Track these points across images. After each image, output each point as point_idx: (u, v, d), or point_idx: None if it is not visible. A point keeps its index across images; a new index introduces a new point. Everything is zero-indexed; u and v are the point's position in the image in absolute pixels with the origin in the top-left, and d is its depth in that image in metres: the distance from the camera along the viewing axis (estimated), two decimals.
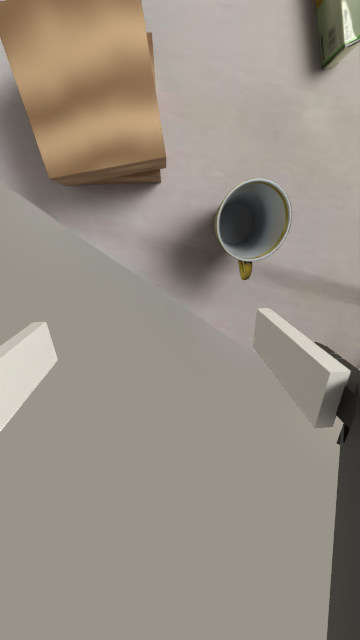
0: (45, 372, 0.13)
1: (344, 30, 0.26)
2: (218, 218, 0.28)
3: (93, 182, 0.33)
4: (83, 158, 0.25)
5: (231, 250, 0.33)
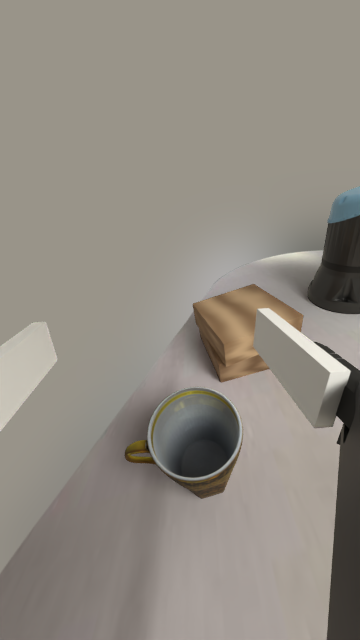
0: (45, 372, 0.13)
1: None
2: (189, 388, 0.27)
3: (204, 342, 0.46)
4: (207, 312, 0.41)
5: (164, 438, 0.26)
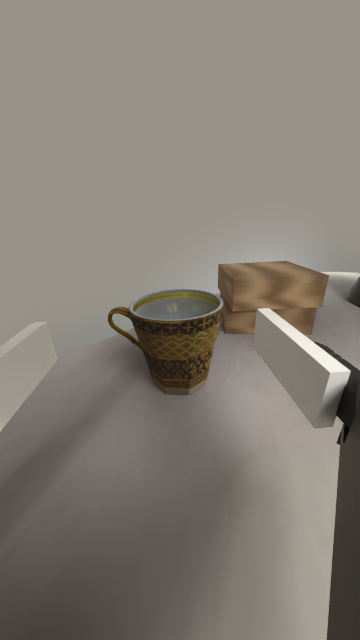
0: (45, 372, 0.13)
1: None
2: (185, 289, 0.28)
3: None
4: (229, 268, 0.41)
5: None
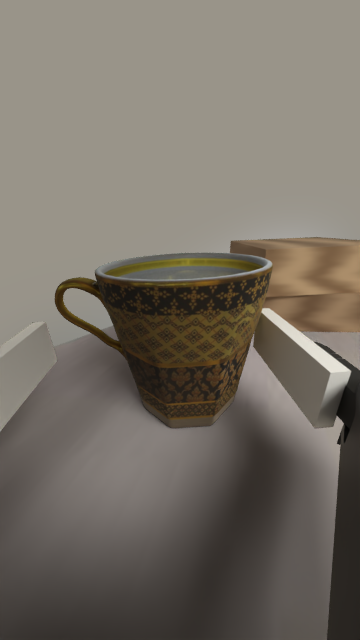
0: (45, 372, 0.13)
1: None
2: (187, 253, 0.17)
3: None
4: (248, 242, 0.30)
5: None
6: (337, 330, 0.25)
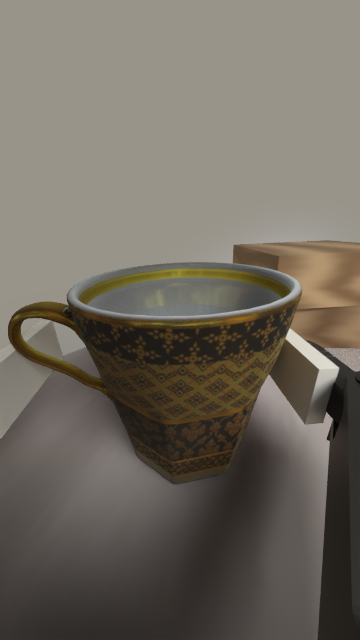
0: (51, 369, 0.13)
1: None
2: (177, 263, 0.15)
3: None
4: (253, 246, 0.27)
5: None
6: (357, 347, 0.22)
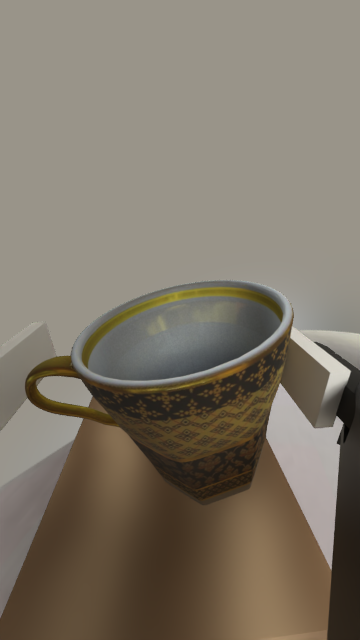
0: None
1: None
2: (173, 286, 0.15)
3: None
4: (92, 437, 0.16)
5: (126, 375, 0.13)
6: None
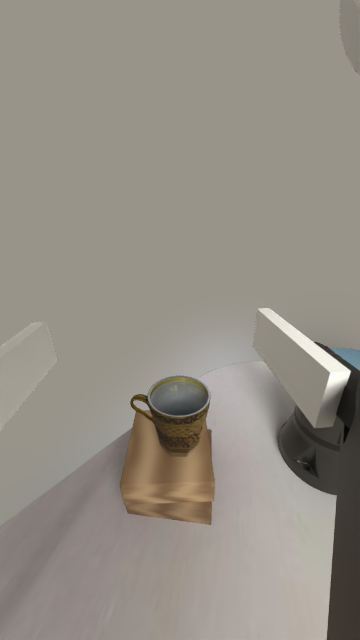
0: (45, 372, 0.13)
1: None
2: (183, 376, 0.39)
3: None
4: (138, 429, 0.41)
5: (158, 404, 0.38)
6: (187, 520, 0.35)
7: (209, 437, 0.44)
